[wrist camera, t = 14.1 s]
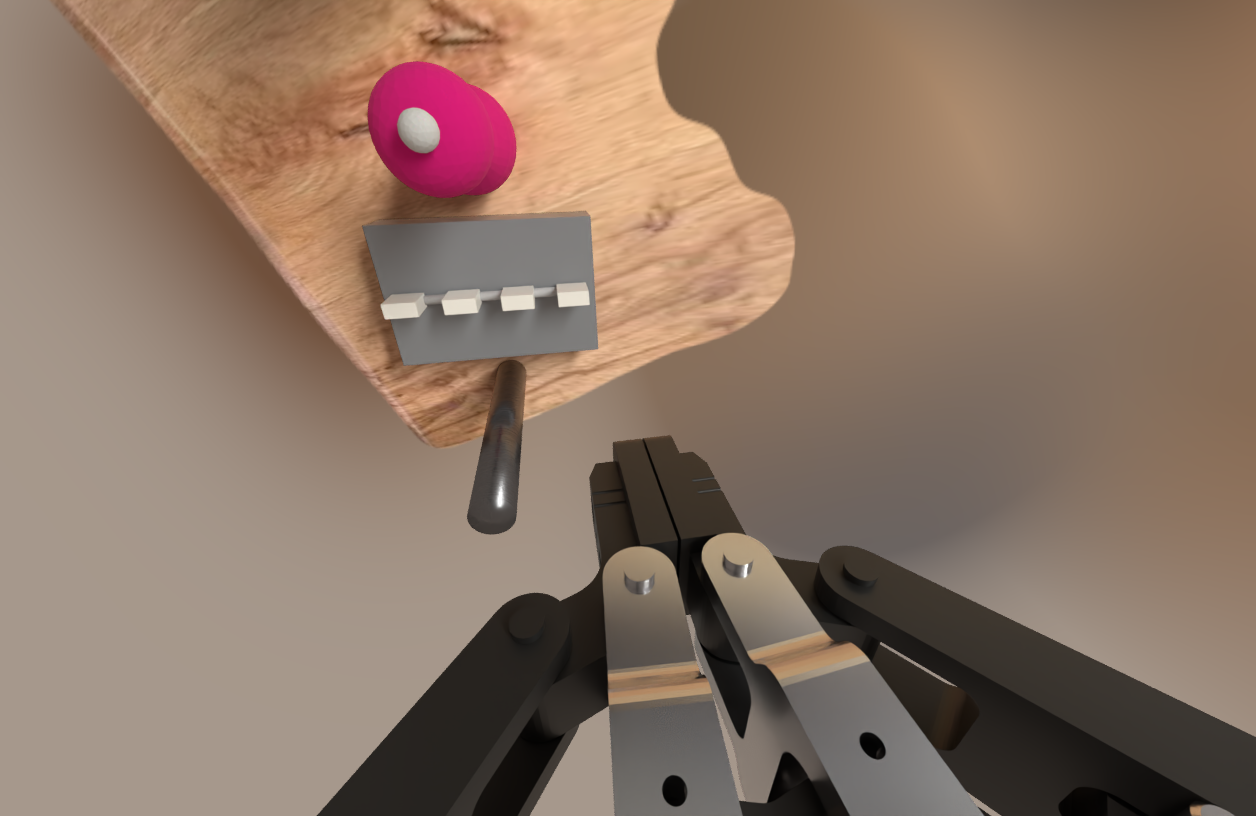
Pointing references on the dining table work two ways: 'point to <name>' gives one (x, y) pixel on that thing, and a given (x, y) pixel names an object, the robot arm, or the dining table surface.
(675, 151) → the dining table surface
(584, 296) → the breaker paddles
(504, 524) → the black cord post
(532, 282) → the breaker panel
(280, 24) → the dining table surface
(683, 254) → the dining table surface
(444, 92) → the pepper mill
